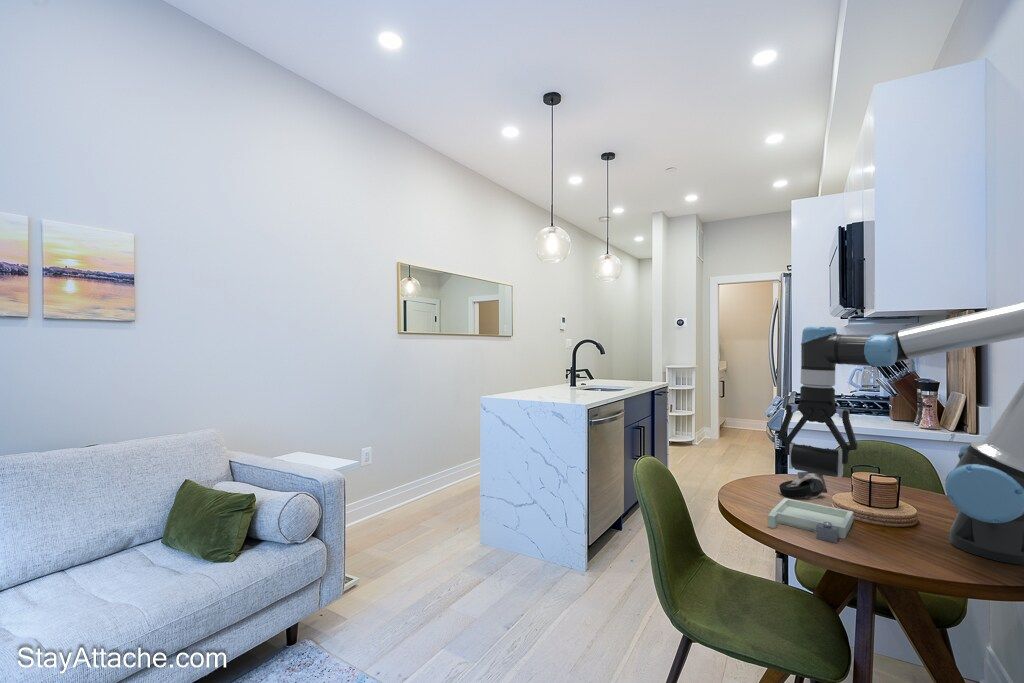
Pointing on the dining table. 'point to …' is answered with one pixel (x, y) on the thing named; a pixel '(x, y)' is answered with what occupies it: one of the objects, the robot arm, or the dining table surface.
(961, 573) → the dining table surface
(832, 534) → the block
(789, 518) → the pale green tray
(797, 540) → the dining table surface
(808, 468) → the end cap
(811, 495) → the caster wheel
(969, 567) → the dining table surface
